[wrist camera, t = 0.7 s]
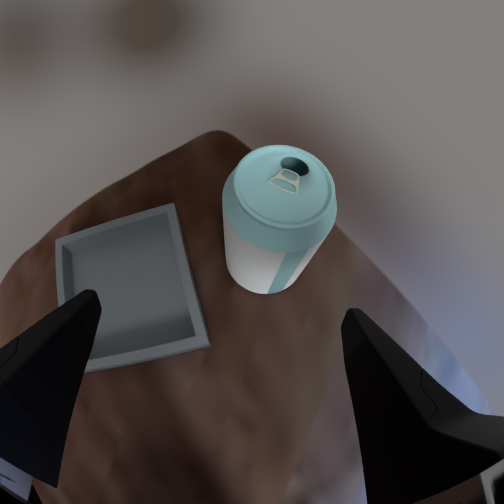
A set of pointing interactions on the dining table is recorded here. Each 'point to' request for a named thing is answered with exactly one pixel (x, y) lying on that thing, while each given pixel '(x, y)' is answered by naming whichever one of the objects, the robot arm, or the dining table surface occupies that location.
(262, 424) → the dining table surface
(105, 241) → the bin
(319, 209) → the can
